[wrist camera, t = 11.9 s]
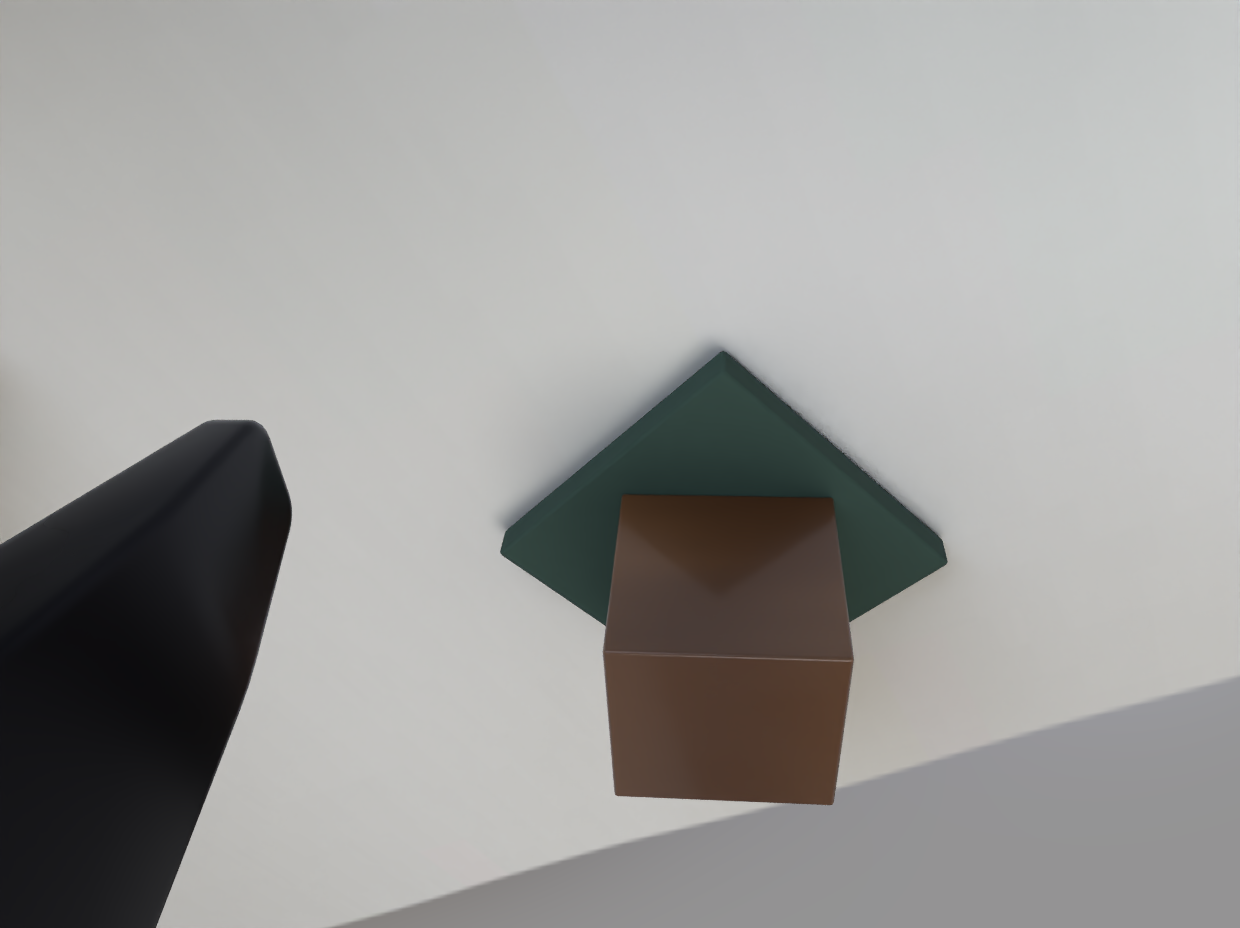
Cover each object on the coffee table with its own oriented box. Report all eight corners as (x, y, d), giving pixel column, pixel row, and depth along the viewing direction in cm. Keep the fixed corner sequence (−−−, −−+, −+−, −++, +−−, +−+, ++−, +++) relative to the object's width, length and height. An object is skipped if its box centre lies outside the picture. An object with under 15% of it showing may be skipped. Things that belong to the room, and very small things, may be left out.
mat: (944, 538, 23) (950, 564, 22) (716, 678, 26) (716, 703, 26) (723, 347, 20) (723, 370, 20) (504, 530, 24) (498, 554, 23)
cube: (833, 495, 21) (854, 659, 18) (818, 640, 24) (833, 806, 20) (621, 492, 22) (602, 651, 18) (630, 635, 24) (614, 796, 21)
